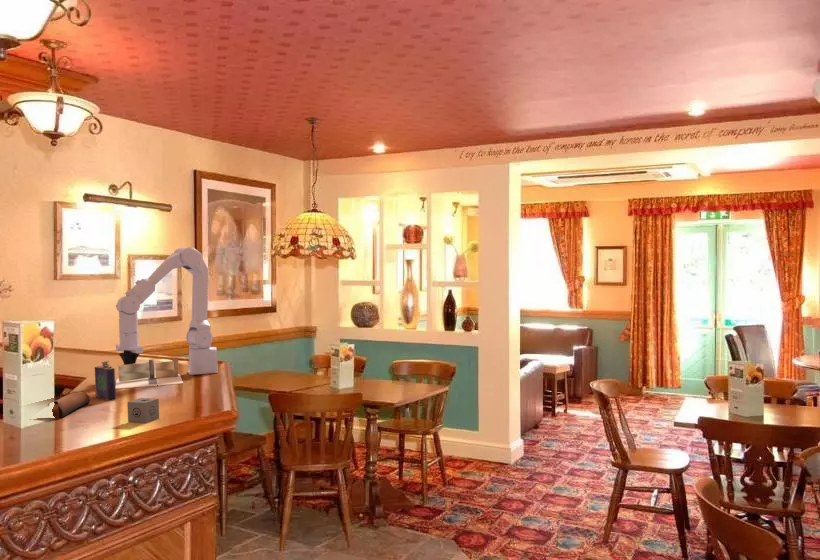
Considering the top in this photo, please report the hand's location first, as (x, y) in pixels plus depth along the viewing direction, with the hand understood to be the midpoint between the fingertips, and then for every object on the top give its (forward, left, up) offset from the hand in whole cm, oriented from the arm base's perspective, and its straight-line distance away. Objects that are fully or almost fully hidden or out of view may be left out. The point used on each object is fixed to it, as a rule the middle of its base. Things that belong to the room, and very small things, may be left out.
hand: (130, 373), depth 224 cm
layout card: (-6, +4, -2) cm, 7 cm away
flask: (+6, +29, -3) cm, 29 cm away
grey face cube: (-3, +65, -3) cm, 65 cm away
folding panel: (-1, +1, -2) cm, 2 cm away
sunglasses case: (+17, +43, -3) cm, 46 cm away
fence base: (-10, -1, -2) cm, 11 cm away
